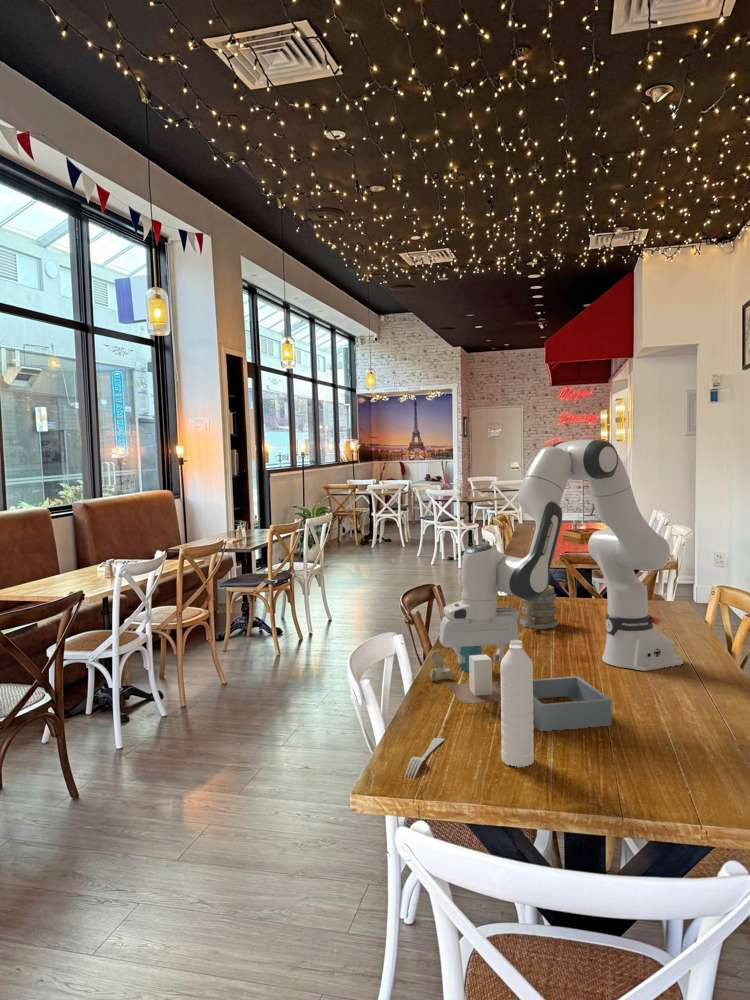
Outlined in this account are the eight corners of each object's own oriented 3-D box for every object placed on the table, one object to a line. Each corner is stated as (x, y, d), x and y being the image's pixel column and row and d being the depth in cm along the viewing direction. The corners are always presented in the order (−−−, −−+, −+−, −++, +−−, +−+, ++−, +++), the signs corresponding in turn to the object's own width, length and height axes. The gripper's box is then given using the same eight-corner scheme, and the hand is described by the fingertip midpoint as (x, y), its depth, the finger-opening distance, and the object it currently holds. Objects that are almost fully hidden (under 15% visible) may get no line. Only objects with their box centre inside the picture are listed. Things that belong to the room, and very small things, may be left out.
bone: (451, 684, 180) (433, 650, 183) (432, 694, 183) (414, 660, 185) (462, 677, 188) (444, 644, 190) (443, 686, 191) (426, 654, 193)
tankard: (529, 618, 255) (529, 579, 254) (562, 623, 247) (562, 582, 246) (506, 631, 239) (506, 588, 238) (541, 635, 231) (540, 592, 230)
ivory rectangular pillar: (486, 688, 177) (486, 654, 177) (492, 694, 173) (491, 659, 172) (469, 689, 177) (468, 655, 176) (474, 695, 172) (474, 660, 171)
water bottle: (502, 752, 143) (500, 635, 141) (534, 755, 141) (532, 636, 139) (500, 771, 134) (498, 647, 133) (533, 774, 133) (532, 649, 131)
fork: (447, 750, 151) (447, 737, 151) (414, 782, 132) (415, 767, 132) (434, 748, 152) (435, 735, 152) (401, 780, 133) (401, 765, 133)
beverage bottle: (481, 677, 190) (480, 607, 189) (458, 676, 192) (456, 606, 190) (482, 670, 197) (481, 602, 195) (459, 669, 198) (458, 601, 196)
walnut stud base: (498, 686, 183) (497, 668, 182) (516, 705, 169) (516, 685, 169) (447, 690, 181) (447, 672, 180) (462, 709, 167) (461, 690, 167)
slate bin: (578, 699, 172) (578, 676, 172) (611, 725, 155) (611, 699, 155) (513, 704, 169) (513, 681, 169) (540, 732, 153) (540, 705, 152)
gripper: (513, 604, 178) (513, 656, 179) (437, 607, 175) (438, 660, 176) (522, 609, 172) (522, 663, 172) (443, 613, 169) (444, 668, 169)
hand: (479, 661), depth 174 cm, fingers open, 8 cm apart
